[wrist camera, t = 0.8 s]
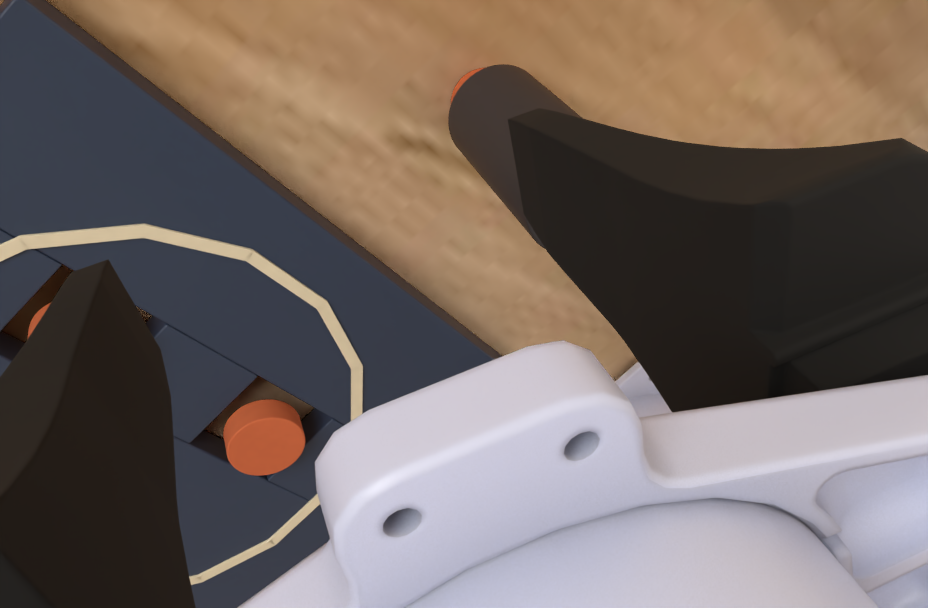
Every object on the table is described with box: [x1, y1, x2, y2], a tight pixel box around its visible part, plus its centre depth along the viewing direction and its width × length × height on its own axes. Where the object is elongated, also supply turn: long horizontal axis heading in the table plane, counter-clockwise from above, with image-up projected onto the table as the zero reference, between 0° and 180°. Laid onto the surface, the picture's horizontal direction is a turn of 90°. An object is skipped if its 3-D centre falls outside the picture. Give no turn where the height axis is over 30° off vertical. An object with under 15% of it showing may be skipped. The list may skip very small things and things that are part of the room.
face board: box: [0, 0, 502, 608], centre depth 27 cm, size 20×18×1 cm
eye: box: [223, 399, 305, 476], centre depth 28 cm, size 3×3×1 cm
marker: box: [449, 65, 583, 248], centre depth 23 cm, size 3×3×7 cm
